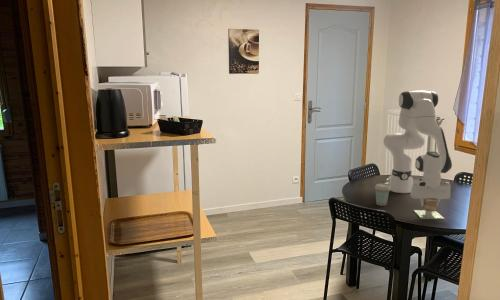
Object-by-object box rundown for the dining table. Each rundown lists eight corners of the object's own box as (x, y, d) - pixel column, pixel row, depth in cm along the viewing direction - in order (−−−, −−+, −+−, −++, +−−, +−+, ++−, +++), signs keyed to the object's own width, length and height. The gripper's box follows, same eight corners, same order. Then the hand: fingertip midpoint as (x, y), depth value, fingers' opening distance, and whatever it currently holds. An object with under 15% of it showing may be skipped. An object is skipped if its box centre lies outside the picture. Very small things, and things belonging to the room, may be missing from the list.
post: (413, 211, 215) (414, 199, 213) (435, 211, 214) (436, 199, 212) (421, 219, 203) (422, 206, 201) (444, 219, 202) (445, 206, 201)
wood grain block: (422, 207, 210) (423, 196, 209) (432, 208, 210) (433, 196, 208) (426, 211, 205) (427, 199, 204) (435, 211, 205) (436, 199, 203)
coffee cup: (390, 206, 222) (391, 187, 219) (375, 206, 223) (376, 186, 221) (387, 202, 230) (388, 183, 227) (373, 201, 231) (374, 182, 229)
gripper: (448, 180, 207) (446, 204, 209) (410, 180, 208) (408, 203, 211) (453, 183, 201) (451, 208, 203) (414, 183, 202) (412, 207, 205)
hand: (429, 205), depth 207 cm, fingers closed on wood grain block, 5 cm apart
